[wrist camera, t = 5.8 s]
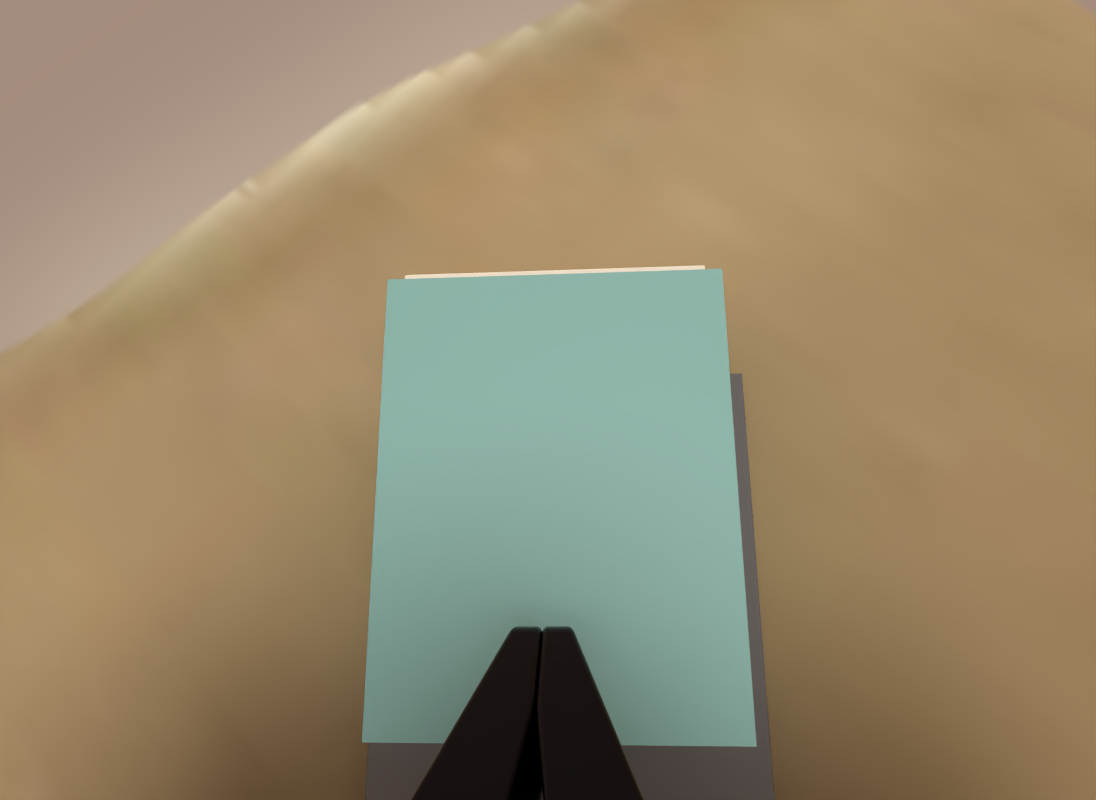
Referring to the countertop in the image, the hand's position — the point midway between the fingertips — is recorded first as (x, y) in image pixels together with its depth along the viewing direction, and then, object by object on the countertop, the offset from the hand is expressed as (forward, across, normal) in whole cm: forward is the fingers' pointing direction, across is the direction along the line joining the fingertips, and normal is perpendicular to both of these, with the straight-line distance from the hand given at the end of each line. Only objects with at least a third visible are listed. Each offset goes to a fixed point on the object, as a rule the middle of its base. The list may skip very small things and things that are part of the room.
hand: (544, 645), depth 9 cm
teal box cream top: (+2, 0, +5) cm, 5 cm away
